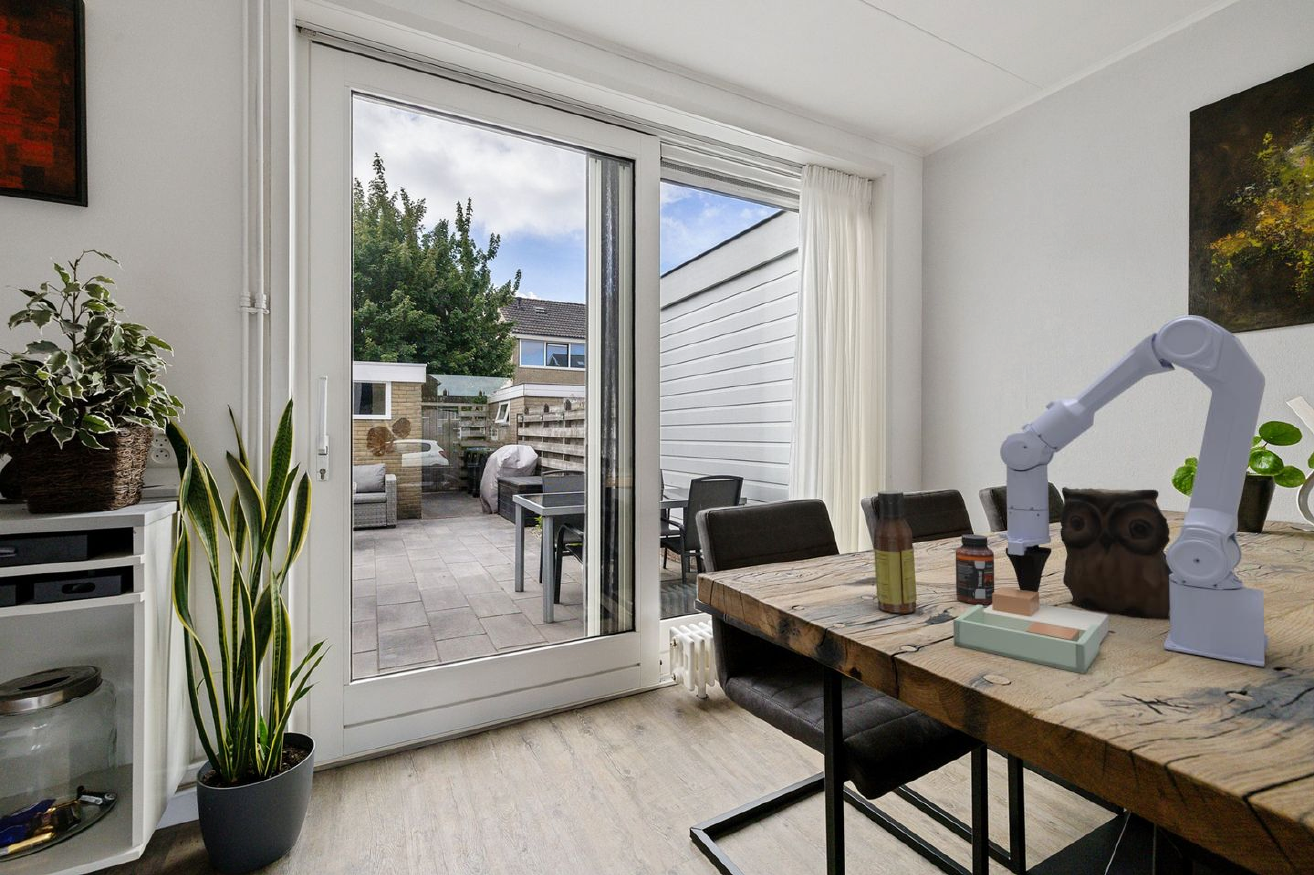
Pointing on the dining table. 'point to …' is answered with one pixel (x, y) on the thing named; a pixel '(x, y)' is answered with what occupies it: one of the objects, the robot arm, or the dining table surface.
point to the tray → (1026, 643)
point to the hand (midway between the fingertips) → (1029, 592)
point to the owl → (1116, 552)
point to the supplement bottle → (974, 570)
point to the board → (1048, 619)
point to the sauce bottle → (894, 556)
